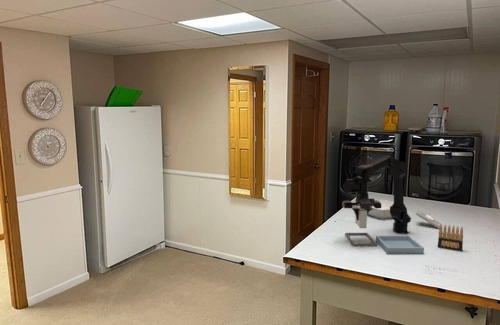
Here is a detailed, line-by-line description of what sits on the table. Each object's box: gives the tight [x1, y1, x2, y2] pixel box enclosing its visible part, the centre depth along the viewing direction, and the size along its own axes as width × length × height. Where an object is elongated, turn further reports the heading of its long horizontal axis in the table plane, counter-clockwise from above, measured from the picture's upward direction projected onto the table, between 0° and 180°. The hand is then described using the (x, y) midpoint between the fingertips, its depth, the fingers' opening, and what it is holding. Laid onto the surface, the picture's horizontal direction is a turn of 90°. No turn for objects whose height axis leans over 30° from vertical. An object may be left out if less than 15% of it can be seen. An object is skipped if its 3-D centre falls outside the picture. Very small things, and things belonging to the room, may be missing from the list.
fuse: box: [354, 206, 368, 229], centre depth 192 cm, size 3×9×9 cm, turn 179°
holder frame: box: [344, 232, 378, 247], centre depth 194 cm, size 12×17×1 cm
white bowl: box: [367, 199, 394, 220], centre depth 239 cm, size 20×20×8 cm
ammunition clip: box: [437, 223, 464, 252], centre depth 181 cm, size 11×2×12 cm, turn 58°
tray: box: [375, 235, 425, 255], centre depth 184 cm, size 17×17×3 cm
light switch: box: [415, 209, 442, 230], centre depth 218 cm, size 8×6×14 cm
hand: (360, 220), depth 193 cm, fingers closed on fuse, 3 cm apart
